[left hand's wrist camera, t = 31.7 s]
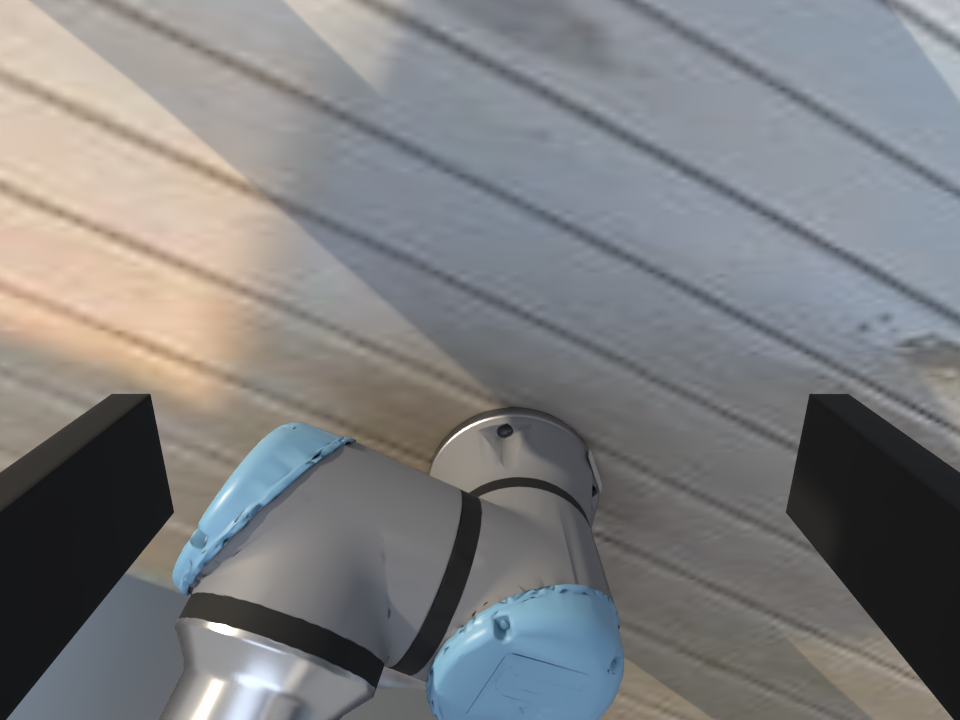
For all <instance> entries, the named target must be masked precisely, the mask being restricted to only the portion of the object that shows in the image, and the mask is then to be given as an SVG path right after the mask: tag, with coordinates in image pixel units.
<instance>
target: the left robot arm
mask: <svg viewBox="0 0 960 720" xmlns="http://www.w3.org/2000/svg"><path fill="white" fill-rule="evenodd" d="M602 486H603V485H602V482H601V479H600V476H599V473H598V470H597V467H596V464H595V461H594V458H593V455H592V452H591V449H590V451H589V450H588V448H587V446H586V445H585V443H584V442H583V440H582V439H581V438H580V437H579V435H578V434H577V433H576V432H575V431H574V430H573V429H571V428H570V427H569V426H568V425H566V424H565V423H563V422H562V421H560V420H559V419H557V418H555V417H553V416H551V415H548V414H546V413H543V412H539V411H536V410H531V409H524V408H502V409H496V410H491V411H487V412H484V413H481V414H478V415H476V416H474V417H472V418H470V419H468V420H466V421H464V422H463V423H461V424H460V425H459V426H457V427H456V428H455V429H454V430H452V431H451V432H450V433H449V434H448V435H447V436H446V437H445V439H444V440H443V441H442V443H441V444H440V445H439V447H438V449H437V450H436V452H435V454H434V457H433V459H432V462H431V465H430V470H429V475H428V474H426V473H423V472H421V471H419V470H417V469H414V468H412V467H410V466H408V465H405V464H403V463H401V462H399V461H397V460H394V459H392V458H390V457H388V456H385V455H383V454H381V453H379V452H377V451H374V450H372V449H370V448H368V447H365V446H363V445H361V444H359V443H356V440H355V439H353V438H351V437H343V438H342V437H340V436H337V435H334V434H332V433H329V432H327V431H324V430H321V429H319V428H316V427H314V426H311V425H308V424H305V423H298V422H294V423H288V424H285V425H282V426H280V427H278V428H276V429H275V430H273V431H272V432H271V433H269V434H268V435H267V436H266V437H264V438H263V439H262V440H261V441H260V442H259V443H258V444H257V445H256V446H255V447H254V448H253V449H252V451H251V452H250V453H249V454H248V455H247V456H246V458H245V459H244V460H243V461H242V462H241V464H240V465H239V466H238V467H237V469H236V470H235V471H234V472H233V474H232V475H231V476H230V478H229V479H228V480H227V482H226V483H225V484H224V486H223V487H222V489H221V490H220V491H219V493H218V494H217V496H216V497H215V498H214V500H213V501H212V503H211V504H210V506H209V507H208V509H207V510H206V512H205V514H204V515H203V517H202V518H201V520H200V522H199V525H198V526H199V527H198V529H197V530H196V531H195V532H194V533H193V535H192V536H191V538H190V540H189V541H188V543H187V544H186V545H185V547H184V548H183V550H182V552H181V554H180V556H179V558H178V560H177V563H176V565H175V568H174V571H173V575H172V577H173V582H174V585H175V586H176V587H178V588H179V590H180V592H181V593H182V594H184V595H187V596H188V595H189V594H190V595H191V596H190V598H189V600H188V602H187V604H186V606H185V608H184V610H183V611H182V613H181V615H180V617H179V619H178V621H177V623H176V625H175V629H176V632H177V636H178V639H179V643H180V646H181V650H182V654H183V657H184V671H183V673H182V675H181V677H180V679H179V681H178V683H177V685H176V687H175V689H174V691H173V693H172V695H171V697H170V698H169V701H168V702H167V704H166V706H165V708H164V710H163V712H162V714H161V716H160V718H159V720H339V719H340V718H341V717H342V716H343V715H345V714H347V713H348V712H350V711H352V710H353V709H355V708H356V707H358V706H360V705H361V704H363V703H365V702H366V701H368V700H370V699H371V698H373V697H374V694H375V691H376V688H377V685H378V682H379V679H380V676H381V673H382V670H383V667H384V666H386V667H388V668H391V669H394V670H396V671H399V672H402V673H404V674H407V675H410V676H412V677H414V678H417V679H420V680H422V681H425V682H426V688H427V689H426V693H427V700H428V702H429V704H430V707H431V711H432V714H433V716H434V717H435V718H436V719H437V720H598V719H599V718H600V717H601V716H602V715H603V714H604V713H605V711H606V710H607V709H608V708H609V706H610V705H611V703H612V702H613V700H614V698H615V696H616V694H617V692H618V690H619V687H620V685H621V681H622V677H623V672H624V654H623V648H622V643H621V638H620V632H619V628H620V621H619V617H618V613H617V609H616V607H615V605H614V602H613V599H612V596H611V592H610V589H609V586H608V583H607V580H606V576H605V573H604V570H603V567H602V563H601V560H600V557H599V554H598V551H597V547H596V544H595V541H594V538H593V535H592V531H591V528H592V524H593V520H594V516H595V512H596V508H597V503H598V497H599V491H600V494H601V492H602ZM173 513H174V510H173V505H172V500H171V495H170V490H169V485H168V480H167V475H166V470H165V465H164V460H163V455H162V450H161V445H160V440H159V435H158V430H157V425H156V420H155V415H154V410H153V405H152V400H151V395H150V394H111V395H110V396H108V397H107V398H106V399H104V400H103V401H101V402H100V403H98V404H97V405H96V406H94V407H93V408H91V409H90V410H89V411H87V412H86V413H84V414H83V415H81V416H80V417H79V418H77V419H76V420H74V421H73V422H71V423H70V424H69V425H67V426H66V427H64V428H63V429H62V430H60V431H59V432H57V433H56V434H54V435H53V436H52V437H50V438H49V439H47V440H46V441H45V442H43V443H42V444H40V445H39V446H37V447H36V448H35V449H33V450H32V451H30V452H29V453H28V454H26V455H25V456H23V457H22V458H20V459H19V460H18V461H16V462H15V463H13V464H12V465H10V466H9V467H8V468H6V469H5V470H3V471H2V472H1V473H0V720H6V719H7V718H8V717H9V715H10V714H11V713H12V712H13V710H14V709H15V708H16V707H17V705H18V704H19V703H20V702H21V701H22V699H23V698H24V697H25V696H26V694H27V693H28V692H29V691H30V689H31V688H32V687H33V686H34V685H35V683H36V682H37V681H38V680H39V678H40V677H41V676H42V675H43V673H44V672H45V671H46V670H47V668H48V667H49V666H50V665H51V664H52V662H53V661H54V660H55V659H56V657H57V656H58V655H59V654H60V652H61V651H62V650H63V649H64V647H65V646H66V645H67V644H68V643H69V641H70V640H71V639H72V638H73V636H74V635H75V634H76V633H77V631H78V630H79V629H80V628H81V627H82V625H83V624H84V623H85V622H86V620H87V619H88V618H89V617H90V615H91V614H92V613H93V612H94V610H95V609H96V608H97V607H98V606H99V604H100V603H101V602H102V601H103V599H104V598H105V597H106V596H107V594H108V593H109V592H110V591H111V589H112V588H113V587H114V586H115V585H116V583H117V582H118V581H119V580H120V578H121V577H122V576H123V575H124V573H125V572H126V571H127V570H128V568H129V567H130V566H131V565H132V564H133V562H134V561H135V560H136V559H137V557H138V556H139V555H140V554H141V552H142V551H143V550H144V549H145V548H146V546H147V545H148V544H149V543H150V541H151V540H152V539H153V538H154V536H155V535H156V534H157V533H158V531H159V530H160V529H161V528H162V527H163V525H164V524H165V523H166V522H167V520H168V519H169V518H170V517H171V515H172V514H173ZM786 513H787V514H788V515H789V517H790V518H791V519H792V520H793V522H794V523H795V524H796V525H797V527H798V528H799V529H800V530H801V531H802V533H803V534H804V535H805V536H806V538H807V539H808V540H809V541H810V543H811V544H812V545H813V546H814V548H815V549H816V550H817V551H818V552H819V554H820V555H821V556H822V557H823V559H824V560H825V561H826V562H827V564H828V565H829V566H830V567H831V569H832V570H833V571H834V572H835V573H836V575H837V576H838V577H839V578H840V580H841V581H842V582H843V583H844V585H845V586H846V587H847V588H848V589H849V591H850V592H851V593H852V594H853V596H854V597H855V598H856V599H857V601H858V602H859V603H860V604H861V606H862V607H863V608H864V609H865V610H866V612H867V613H868V614H869V615H870V617H871V618H872V619H873V620H874V622H875V623H876V624H877V625H878V627H879V628H880V629H881V630H882V631H883V633H884V634H885V635H886V636H887V638H888V639H889V640H890V641H891V643H892V644H893V645H894V646H895V648H896V649H897V650H898V651H899V652H900V654H901V655H902V656H903V657H904V659H905V660H906V661H907V662H908V664H909V665H910V666H911V667H912V669H913V670H914V671H915V672H916V673H917V675H918V676H919V677H920V678H921V680H922V681H923V682H924V683H925V685H926V686H927V687H928V688H929V689H930V691H931V692H932V693H933V694H934V696H935V697H936V698H937V699H938V701H939V702H940V703H941V704H942V706H943V707H944V708H945V709H946V710H947V712H948V713H949V714H950V715H951V717H952V718H953V719H954V720H960V473H959V472H958V471H957V470H955V469H954V468H952V467H951V466H950V465H948V464H947V463H945V462H944V461H942V460H941V459H940V458H938V457H937V456H935V455H934V454H932V453H931V452H930V451H928V450H927V449H925V448H924V447H923V446H921V445H920V444H918V443H917V442H915V441H914V440H913V439H911V438H910V437H908V436H907V435H906V434H904V433H903V432H901V431H900V430H898V429H897V428H896V427H894V426H893V425H891V424H890V423H889V422H887V421H886V420H884V419H883V418H881V417H880V416H879V415H877V414H876V413H874V412H873V411H871V410H870V409H869V408H867V407H866V406H864V405H863V404H862V403H860V402H859V401H857V400H856V399H854V398H853V397H852V396H850V395H849V394H810V395H809V400H808V405H807V410H806V415H805V420H804V425H803V430H802V435H801V440H800V445H799V450H798V455H797V460H796V465H795V470H794V475H793V480H792V485H791V490H790V495H789V500H788V505H787V510H786Z"/></svg>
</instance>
